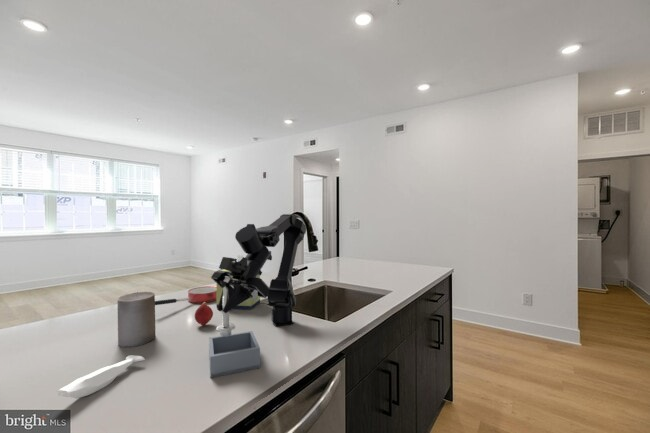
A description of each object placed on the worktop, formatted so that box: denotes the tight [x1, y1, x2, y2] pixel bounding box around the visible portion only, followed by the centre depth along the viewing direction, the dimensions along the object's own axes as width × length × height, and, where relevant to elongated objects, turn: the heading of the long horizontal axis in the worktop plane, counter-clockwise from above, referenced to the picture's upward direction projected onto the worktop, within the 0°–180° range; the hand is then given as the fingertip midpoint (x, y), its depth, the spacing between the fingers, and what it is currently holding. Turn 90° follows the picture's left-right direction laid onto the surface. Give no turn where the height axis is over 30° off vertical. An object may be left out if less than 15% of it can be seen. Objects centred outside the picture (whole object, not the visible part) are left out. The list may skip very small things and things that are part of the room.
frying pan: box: [155, 285, 217, 306], centre depth 123 cm, size 32×13×6 cm, turn 167°
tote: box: [208, 330, 261, 379], centre depth 76 cm, size 12×12×5 cm
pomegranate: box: [194, 302, 214, 327], centre depth 100 cm, size 6×6×8 cm
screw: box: [215, 286, 236, 337], centre depth 76 cm, size 13×5×5 cm
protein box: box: [216, 269, 261, 311], centre depth 123 cm, size 10×16×16 cm
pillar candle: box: [116, 291, 156, 348], centre depth 88 cm, size 10×10×15 cm
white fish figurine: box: [56, 354, 146, 399], centre depth 65 cm, size 6×18×4 cm, turn 170°
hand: (221, 311), depth 75 cm, fingers closed on screw, 2 cm apart
